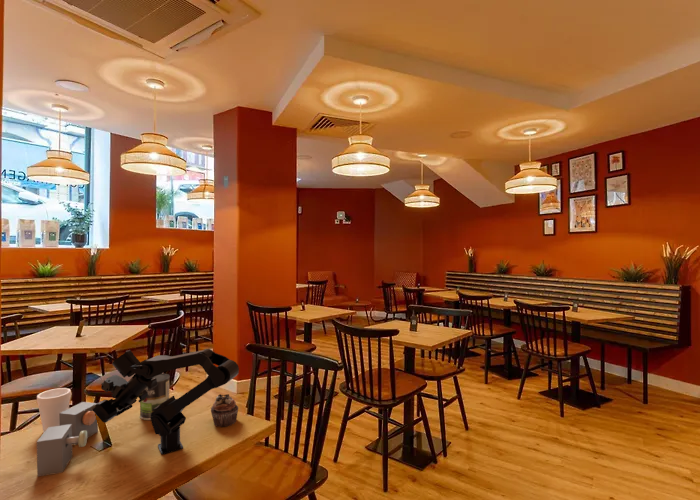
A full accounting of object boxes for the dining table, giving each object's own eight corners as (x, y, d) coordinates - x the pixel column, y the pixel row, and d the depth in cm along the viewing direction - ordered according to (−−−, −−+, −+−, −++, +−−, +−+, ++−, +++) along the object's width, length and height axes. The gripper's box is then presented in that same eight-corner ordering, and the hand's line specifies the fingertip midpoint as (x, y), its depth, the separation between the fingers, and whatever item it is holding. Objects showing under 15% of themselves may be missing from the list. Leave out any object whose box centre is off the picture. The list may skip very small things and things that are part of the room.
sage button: (87, 441, 123) (87, 427, 122) (83, 449, 118) (82, 434, 118) (63, 445, 121) (63, 430, 120) (58, 452, 116) (58, 437, 116)
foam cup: (44, 439, 133) (43, 400, 133) (32, 431, 138) (32, 394, 138) (76, 427, 141) (75, 391, 141) (64, 421, 146) (63, 386, 146)
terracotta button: (96, 421, 136) (96, 408, 136) (85, 427, 132) (85, 414, 131) (80, 419, 137) (80, 407, 137) (69, 425, 133) (69, 412, 133)
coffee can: (156, 422, 146) (155, 384, 146) (133, 418, 149) (133, 380, 149) (176, 410, 156) (175, 374, 155) (154, 406, 159) (154, 371, 158)
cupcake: (239, 425, 144) (239, 398, 143) (211, 430, 140) (211, 402, 140) (237, 414, 153) (237, 388, 152) (210, 418, 149) (210, 391, 149)
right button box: (97, 431, 139) (97, 403, 138) (75, 445, 130) (75, 414, 129) (82, 430, 140) (82, 401, 139) (59, 443, 131) (59, 413, 130)
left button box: (72, 455, 123) (71, 424, 123) (62, 472, 115) (61, 438, 115) (49, 459, 121) (48, 427, 121) (37, 476, 113) (36, 441, 113)
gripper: (139, 360, 140) (112, 389, 143) (96, 378, 122) (66, 412, 124) (160, 383, 139) (133, 412, 141) (120, 405, 121) (89, 439, 123)
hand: (107, 418), depth 133 cm, fingers closed
